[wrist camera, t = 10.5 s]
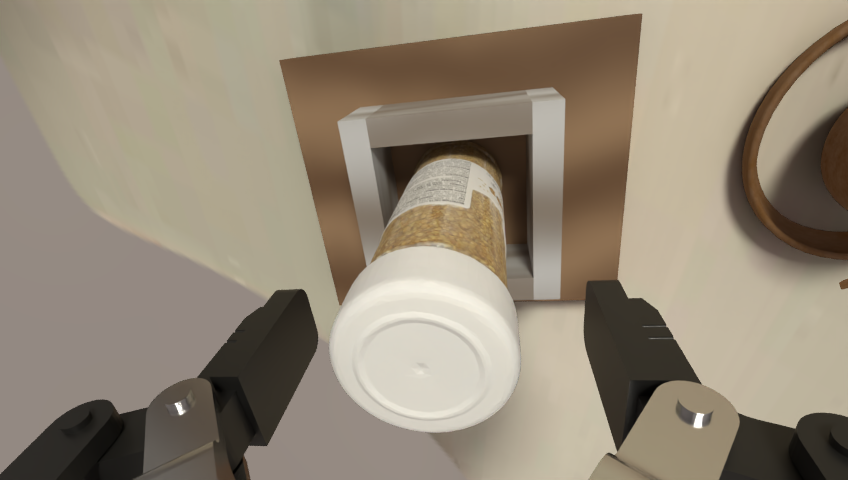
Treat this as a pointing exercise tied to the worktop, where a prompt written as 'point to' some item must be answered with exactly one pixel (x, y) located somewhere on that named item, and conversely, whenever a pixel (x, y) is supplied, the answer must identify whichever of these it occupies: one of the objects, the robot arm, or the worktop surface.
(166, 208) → the worktop surface
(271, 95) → the worktop surface
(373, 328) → the sprinkles bottle
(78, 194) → the worktop surface
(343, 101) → the socket
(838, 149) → the place setting
